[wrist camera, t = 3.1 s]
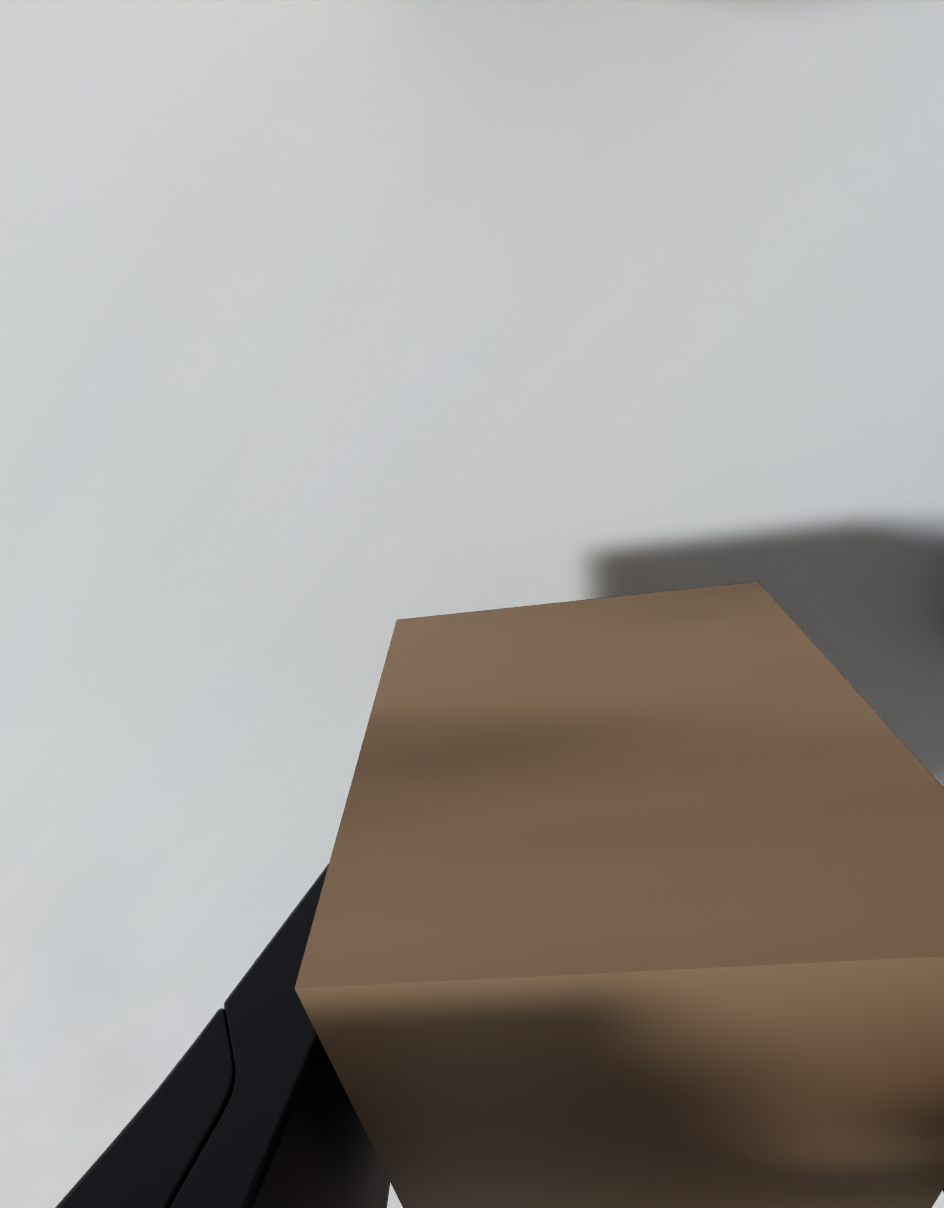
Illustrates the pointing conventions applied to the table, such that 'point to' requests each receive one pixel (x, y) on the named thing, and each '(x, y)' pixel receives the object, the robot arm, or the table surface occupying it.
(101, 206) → the table surface
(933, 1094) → the walnut block
